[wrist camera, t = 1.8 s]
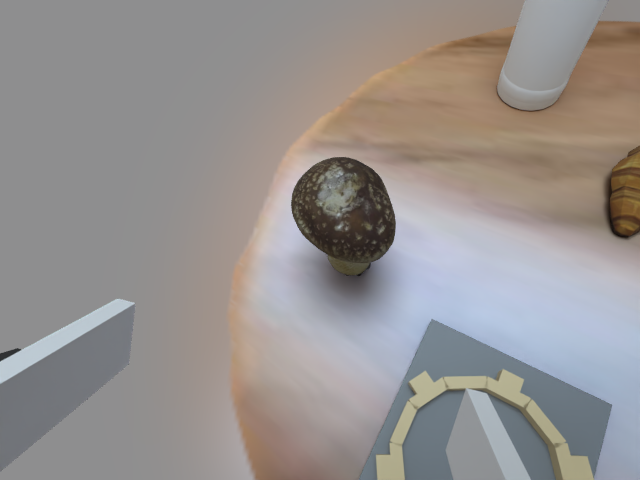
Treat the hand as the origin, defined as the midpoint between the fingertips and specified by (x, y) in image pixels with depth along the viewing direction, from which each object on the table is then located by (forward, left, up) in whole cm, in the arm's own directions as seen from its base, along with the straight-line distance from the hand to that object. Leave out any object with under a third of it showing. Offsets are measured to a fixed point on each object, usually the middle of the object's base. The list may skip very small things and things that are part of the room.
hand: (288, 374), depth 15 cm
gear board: (-2, +12, -25) cm, 27 cm away
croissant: (-36, +18, -25) cm, 47 cm away
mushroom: (-14, -6, -25) cm, 29 cm away
